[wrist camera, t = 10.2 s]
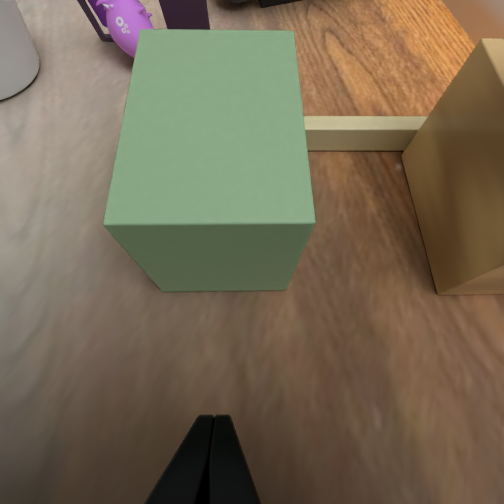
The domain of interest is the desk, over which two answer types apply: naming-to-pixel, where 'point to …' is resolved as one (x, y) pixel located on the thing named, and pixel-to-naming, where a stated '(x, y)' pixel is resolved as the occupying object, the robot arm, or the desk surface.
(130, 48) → the game card
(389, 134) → the straightedge
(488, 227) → the maple block
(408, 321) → the desk surface
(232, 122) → the green block
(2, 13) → the candle
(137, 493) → the desk surface
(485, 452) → the desk surface
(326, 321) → the desk surface
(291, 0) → the character figurine
